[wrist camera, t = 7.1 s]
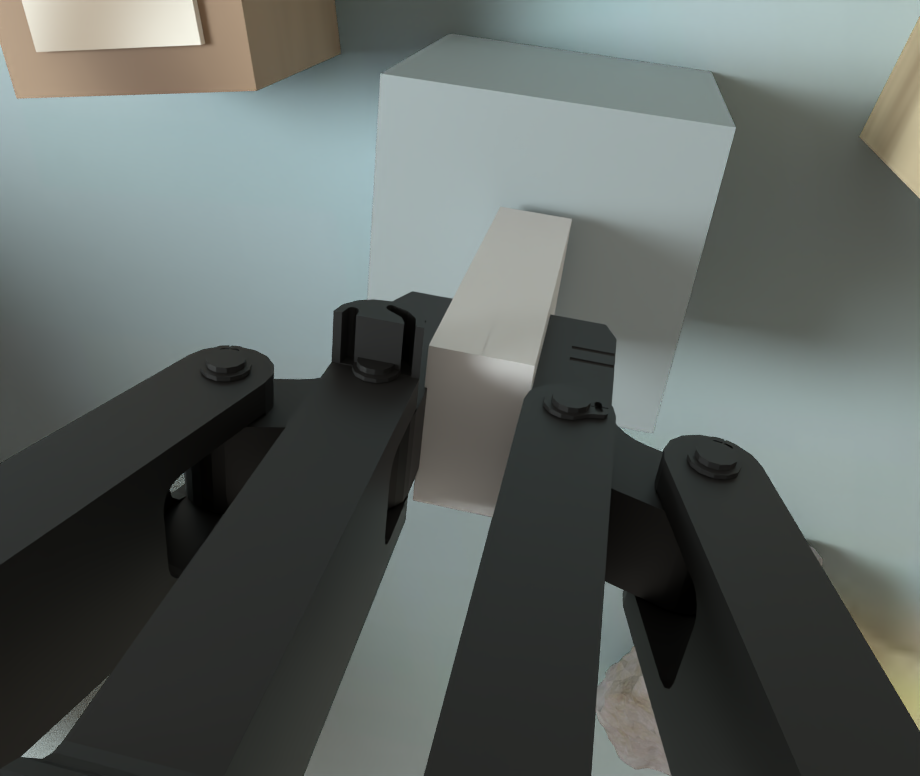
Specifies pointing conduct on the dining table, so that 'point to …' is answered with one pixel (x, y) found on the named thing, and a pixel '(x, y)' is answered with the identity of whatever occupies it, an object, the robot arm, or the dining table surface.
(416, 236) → the plain block
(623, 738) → the stone
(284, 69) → the walnut block
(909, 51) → the oak block
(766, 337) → the dining table surface
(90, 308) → the dining table surface
